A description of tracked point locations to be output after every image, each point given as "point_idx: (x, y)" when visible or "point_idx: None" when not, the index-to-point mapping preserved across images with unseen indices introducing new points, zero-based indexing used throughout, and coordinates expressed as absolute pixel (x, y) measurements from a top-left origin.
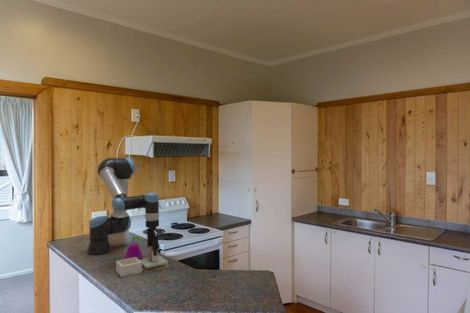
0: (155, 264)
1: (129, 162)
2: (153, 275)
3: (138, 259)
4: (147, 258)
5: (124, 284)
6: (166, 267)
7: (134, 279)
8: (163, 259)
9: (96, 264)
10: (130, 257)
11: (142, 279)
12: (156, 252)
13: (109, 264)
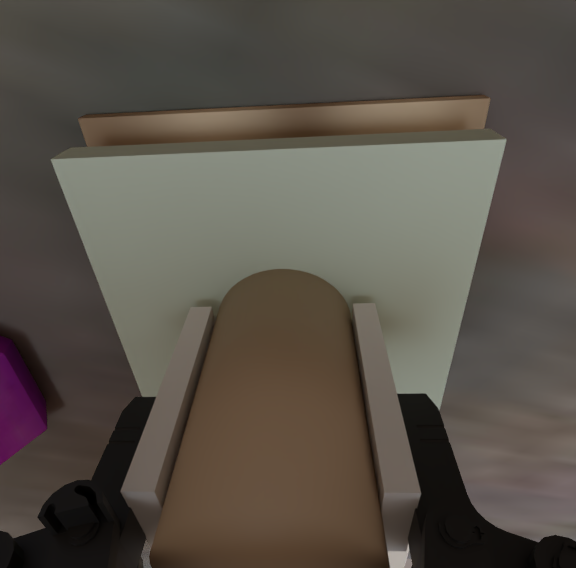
0: (455, 336)
1: None
2: (555, 340)
3: (14, 370)
4: (142, 355)
5: (524, 506)
6: None
7: (494, 458)
8: (330, 177)
9: (13, 538)
10: (10, 455)
11: (553, 424)
12: (450, 456)
13: (37, 500)
